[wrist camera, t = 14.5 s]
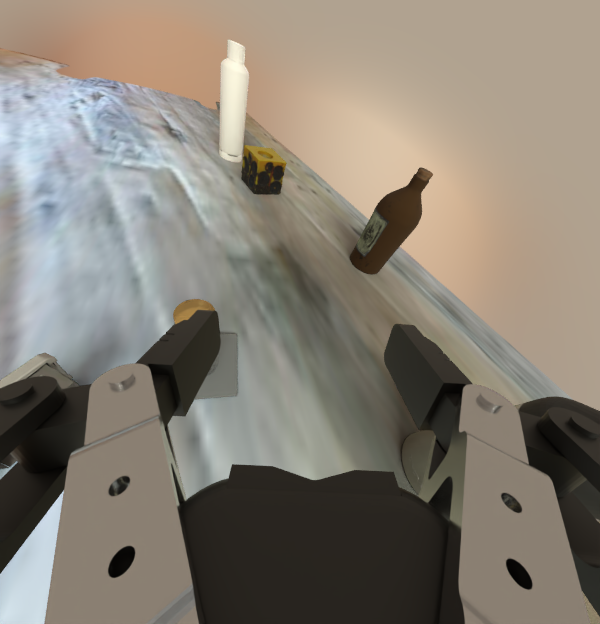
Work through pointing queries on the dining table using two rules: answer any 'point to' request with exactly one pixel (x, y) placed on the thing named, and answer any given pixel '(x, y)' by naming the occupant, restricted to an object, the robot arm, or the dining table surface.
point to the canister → (187, 311)
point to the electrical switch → (35, 368)
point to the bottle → (233, 102)
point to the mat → (222, 371)
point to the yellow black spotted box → (262, 170)
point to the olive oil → (390, 225)
